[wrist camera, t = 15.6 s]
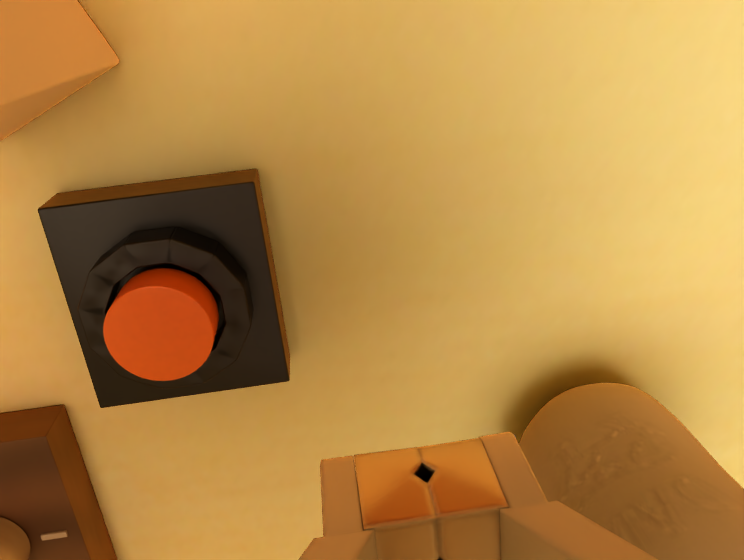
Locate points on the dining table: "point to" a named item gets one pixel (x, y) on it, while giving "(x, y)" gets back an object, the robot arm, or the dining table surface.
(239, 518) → the dining table surface
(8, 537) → the dial knob
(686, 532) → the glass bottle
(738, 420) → the dining table surface
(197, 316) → the round orange button
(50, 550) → the dial panel
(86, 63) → the milk carton
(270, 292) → the button base
